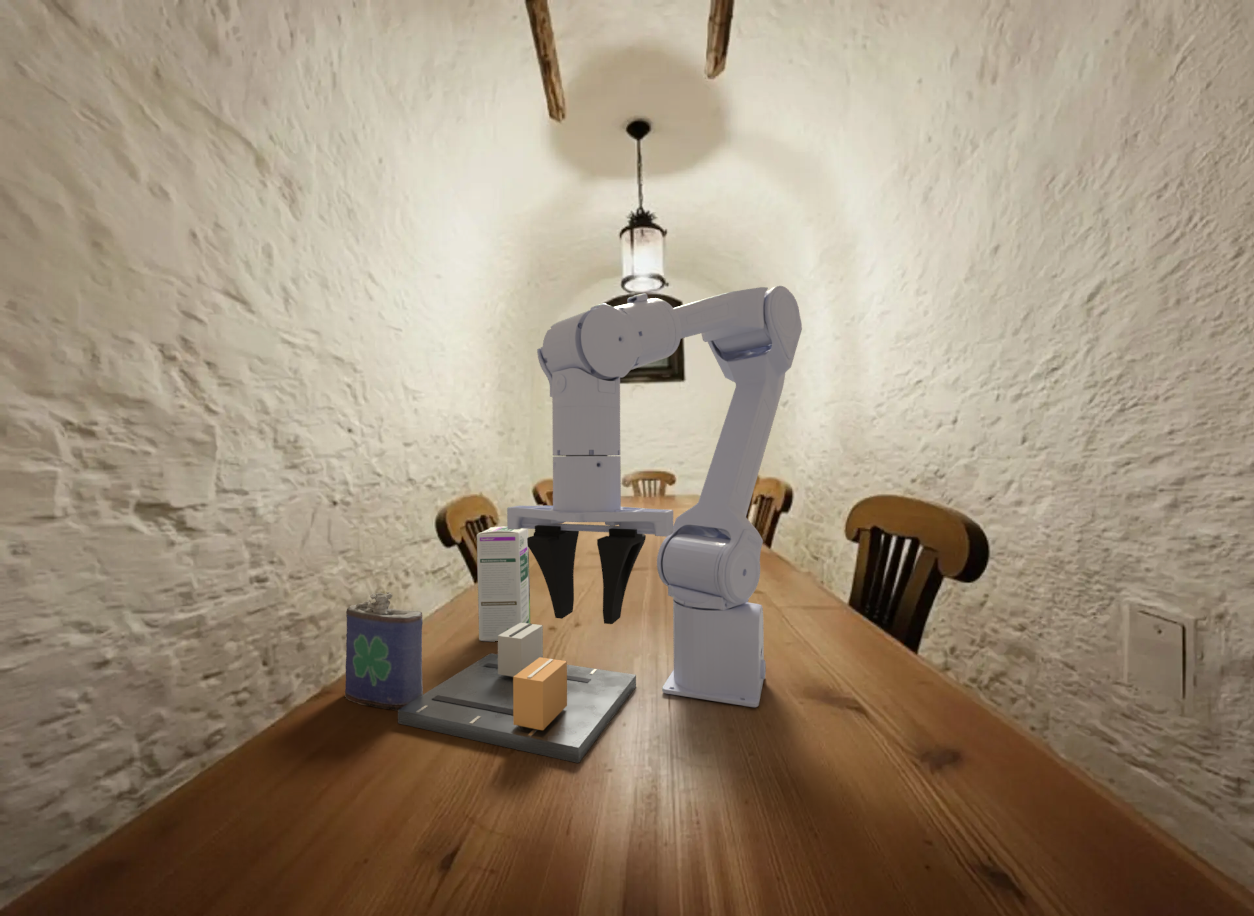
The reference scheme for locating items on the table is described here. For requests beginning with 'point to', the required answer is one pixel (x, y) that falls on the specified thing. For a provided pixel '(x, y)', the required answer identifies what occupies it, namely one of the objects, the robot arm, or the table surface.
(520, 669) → the white fader knob
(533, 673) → the orange fader
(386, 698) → the flask
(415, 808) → the table surface
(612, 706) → the grey slotted tray
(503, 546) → the syrup box
